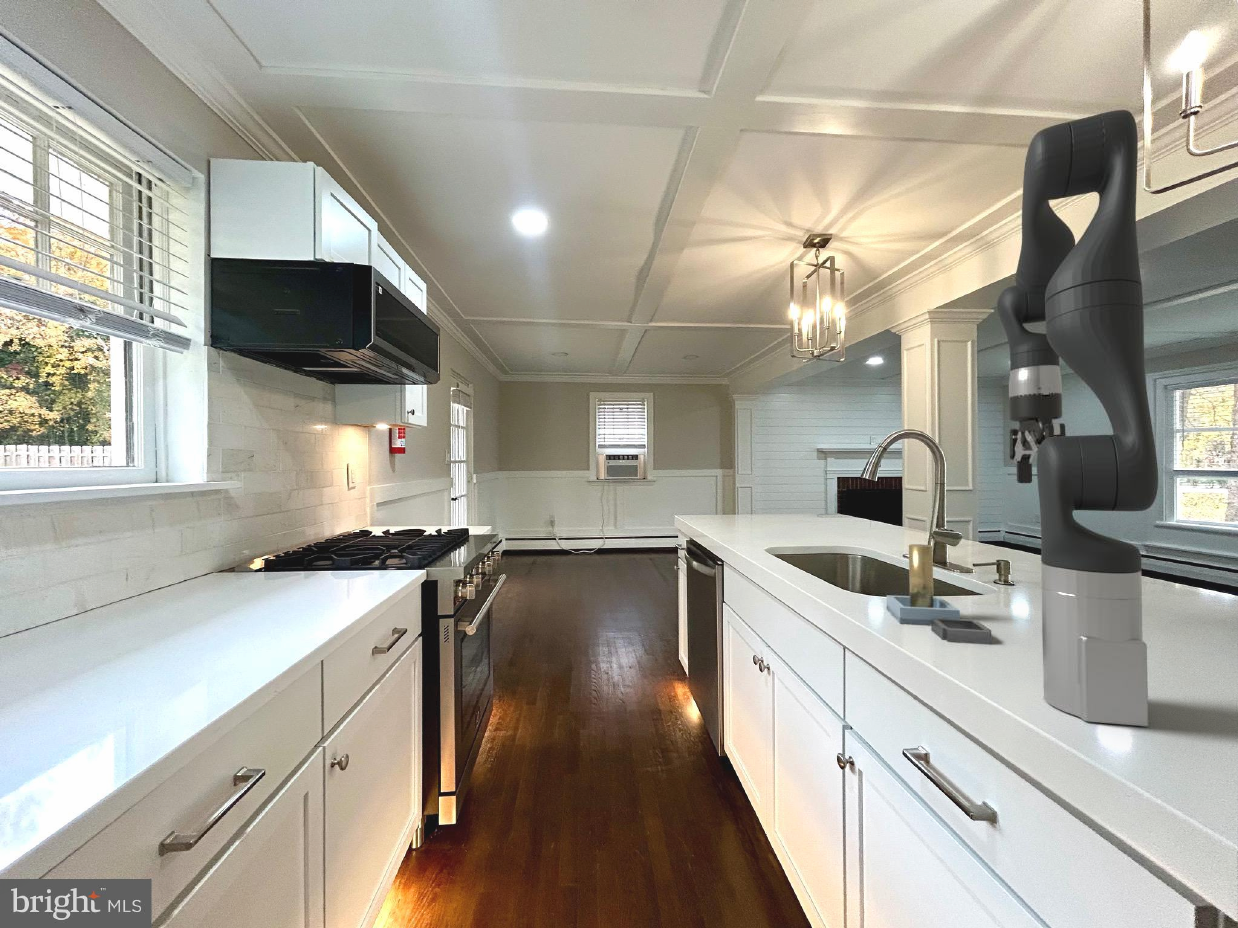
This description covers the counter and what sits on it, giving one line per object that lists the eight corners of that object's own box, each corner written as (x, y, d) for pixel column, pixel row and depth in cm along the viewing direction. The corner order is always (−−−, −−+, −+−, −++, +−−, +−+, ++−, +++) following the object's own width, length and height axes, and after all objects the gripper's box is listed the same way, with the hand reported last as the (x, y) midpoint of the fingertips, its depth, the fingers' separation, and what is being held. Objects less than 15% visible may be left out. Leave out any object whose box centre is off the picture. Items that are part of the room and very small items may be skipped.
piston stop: (936, 615, 102) (935, 547, 102) (913, 614, 103) (912, 547, 103) (929, 610, 106) (928, 544, 106) (907, 609, 107) (906, 544, 107)
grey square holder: (994, 644, 88) (994, 632, 88) (944, 641, 90) (944, 629, 90) (975, 630, 96) (975, 619, 96) (929, 628, 97) (929, 617, 97)
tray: (960, 626, 98) (959, 610, 98) (900, 623, 101) (900, 607, 101) (940, 612, 108) (940, 597, 108) (886, 609, 110) (886, 595, 110)
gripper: (993, 399, 104) (995, 483, 104) (1031, 389, 91) (1032, 485, 90) (1038, 398, 103) (1039, 482, 102) (1083, 387, 89) (1085, 485, 89)
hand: (1036, 483), depth 96 cm, fingers open, 8 cm apart
